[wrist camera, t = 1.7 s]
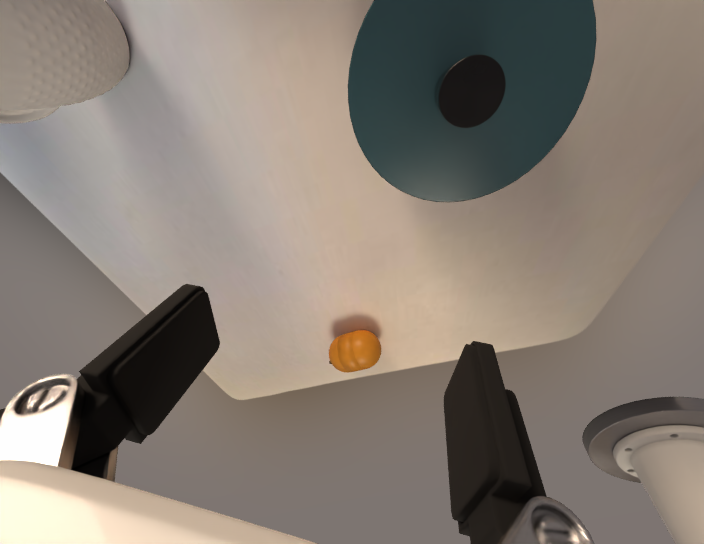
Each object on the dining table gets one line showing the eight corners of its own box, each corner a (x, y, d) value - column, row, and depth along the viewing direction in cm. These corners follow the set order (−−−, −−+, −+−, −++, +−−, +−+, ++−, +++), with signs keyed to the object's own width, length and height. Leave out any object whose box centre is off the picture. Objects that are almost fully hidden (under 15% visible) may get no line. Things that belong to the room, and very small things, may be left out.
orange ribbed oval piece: (372, 318, 40) (367, 346, 35) (389, 344, 42) (385, 373, 37) (327, 331, 43) (316, 358, 39) (344, 355, 45) (336, 383, 41)
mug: (119, 152, 34) (-22, 183, 23) (26, 69, 31) (-186, 61, 20) (169, 37, 26) (-3, 3, 16) (54, -86, 23) (-257, -232, 13)
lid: (641, -72, 13) (777, -169, 8) (530, 206, 21) (566, 246, 16) (356, -65, 15) (324, -141, 10) (348, 187, 23) (326, 217, 18)
